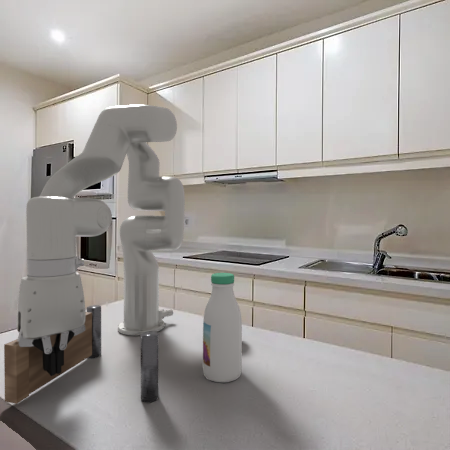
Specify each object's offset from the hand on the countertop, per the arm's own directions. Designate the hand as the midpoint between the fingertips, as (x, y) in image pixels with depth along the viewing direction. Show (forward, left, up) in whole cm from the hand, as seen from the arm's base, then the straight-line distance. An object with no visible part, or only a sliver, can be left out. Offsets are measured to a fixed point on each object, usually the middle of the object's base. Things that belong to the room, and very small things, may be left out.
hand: (53, 371), depth 57 cm
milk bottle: (-27, +15, -4) cm, 31 cm away
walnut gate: (-2, -5, -3) cm, 6 cm away
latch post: (-12, +13, -4) cm, 18 cm away
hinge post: (-12, -11, -4) cm, 16 cm away
